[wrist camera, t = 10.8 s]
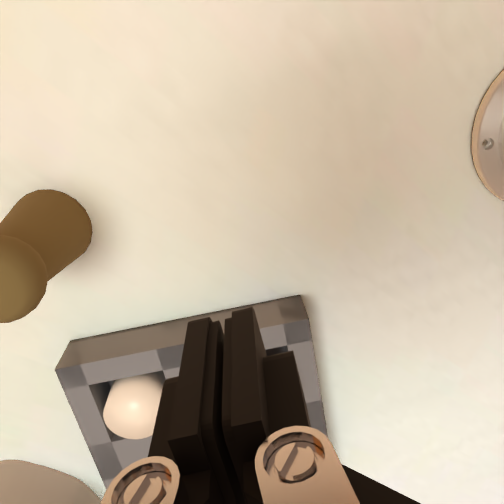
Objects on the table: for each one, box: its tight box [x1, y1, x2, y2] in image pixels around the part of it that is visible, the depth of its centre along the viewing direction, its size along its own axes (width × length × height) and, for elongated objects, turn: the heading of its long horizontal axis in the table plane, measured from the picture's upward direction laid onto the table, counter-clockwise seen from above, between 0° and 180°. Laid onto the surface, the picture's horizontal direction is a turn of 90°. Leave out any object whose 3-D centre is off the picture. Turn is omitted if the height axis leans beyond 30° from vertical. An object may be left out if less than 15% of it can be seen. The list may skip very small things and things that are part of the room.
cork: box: [0, 190, 92, 323], centre depth 30 cm, size 6×6×11 cm
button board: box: [55, 295, 328, 490], centre depth 41 cm, size 20×20×4 cm
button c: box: [103, 370, 166, 439], centre depth 38 cm, size 5×5×4 cm
